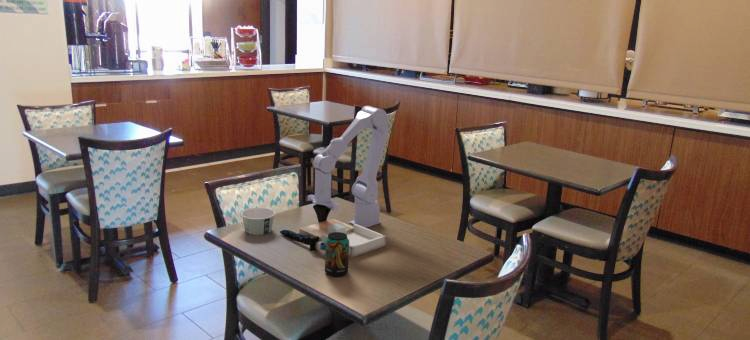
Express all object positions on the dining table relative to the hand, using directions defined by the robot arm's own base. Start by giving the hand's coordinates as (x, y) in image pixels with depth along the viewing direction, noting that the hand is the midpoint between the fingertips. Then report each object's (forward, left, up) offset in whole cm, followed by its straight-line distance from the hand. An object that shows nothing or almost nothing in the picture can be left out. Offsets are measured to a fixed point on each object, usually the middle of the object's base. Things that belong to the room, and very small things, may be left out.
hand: (322, 224), depth 203 cm
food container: (+17, -15, -3) cm, 23 cm away
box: (0, +16, -3) cm, 17 cm away
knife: (+13, +8, -3) cm, 16 cm away
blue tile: (0, +8, -1) cm, 8 cm away
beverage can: (+19, +29, -3) cm, 35 cm away
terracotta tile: (0, +3, -1) cm, 3 cm away
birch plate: (0, +3, -3) cm, 4 cm away
